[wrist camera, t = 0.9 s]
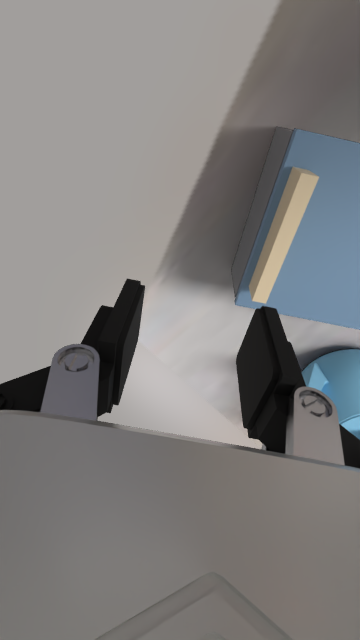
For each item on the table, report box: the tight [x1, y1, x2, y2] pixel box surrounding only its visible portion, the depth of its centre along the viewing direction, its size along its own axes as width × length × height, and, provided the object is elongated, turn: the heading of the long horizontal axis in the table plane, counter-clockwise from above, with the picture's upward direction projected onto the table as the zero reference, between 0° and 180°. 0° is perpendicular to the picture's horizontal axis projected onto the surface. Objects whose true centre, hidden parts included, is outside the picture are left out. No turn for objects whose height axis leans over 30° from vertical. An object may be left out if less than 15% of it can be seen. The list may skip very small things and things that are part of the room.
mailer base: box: [231, 127, 294, 297], centre depth 28 cm, size 18×14×6 cm
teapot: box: [301, 349, 360, 440], centre depth 38 cm, size 15×15×11 cm
